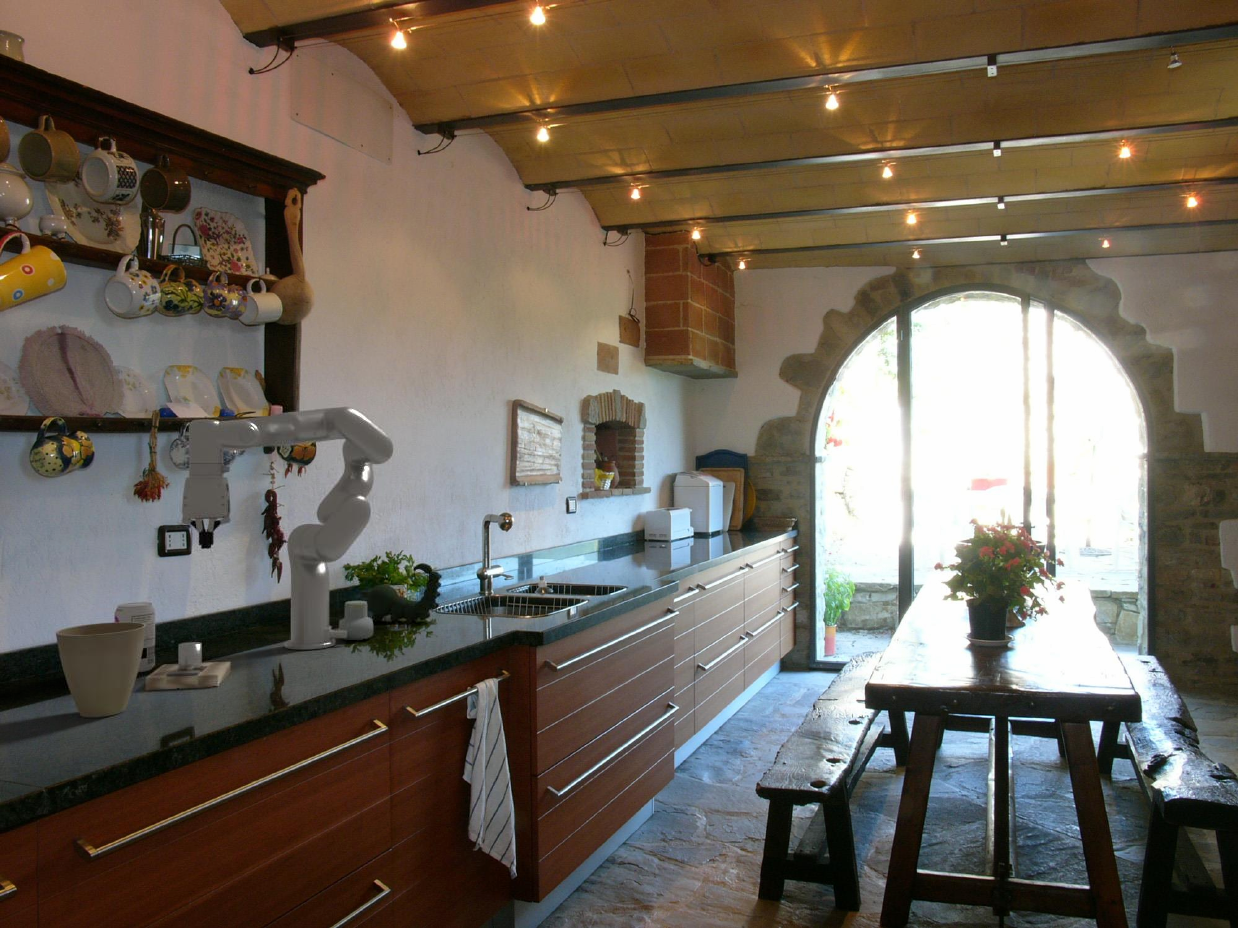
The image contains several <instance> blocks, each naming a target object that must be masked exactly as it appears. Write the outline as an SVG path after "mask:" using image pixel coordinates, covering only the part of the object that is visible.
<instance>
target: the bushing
mask: <svg viewBox="0 0 1238 928" xmlns="http://www.w3.org/2000/svg"><path fill="white" fill-rule="evenodd" d="M202 644H203V643H202V642H199V641H196V642H195V641H194V642H193V641H191V642H182V643H179V644H178V646H177V647H178V649H177V651H178V653H177V654H178V655H177V656H178V658H177V659H178V662H177V664H178V671H195V670H200V672H202V663H203V660H202V659H203V658H202V657H203V655H202V654H203V652H202V651H203V647H202Z"/></svg>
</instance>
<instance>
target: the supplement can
mask: <svg viewBox="0 0 1238 928" xmlns="http://www.w3.org/2000/svg"><path fill="white" fill-rule="evenodd" d="M114 622H137V623H144V624H146V631H145V638H144V645H143V650H142V656H141V660H140V664H139V668H138V672H137V674H138V673H143V672H149V671H151V670H153V668H154V667H155V666H156V609H155V608H154V606H153V603H152V602H144V601H143V602H142V601H141V602H128V603H121V604H118V605H117V607H116V609H115V611H114Z"/></svg>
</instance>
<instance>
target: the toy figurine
mask: <svg viewBox="0 0 1238 928" xmlns="http://www.w3.org/2000/svg"><path fill="white" fill-rule="evenodd" d="M417 570H418V571H419V570H421V571H422V572H424V573H425V574H427V575H428V577H427V578H428V580H427V581H426V583H425V587H426V588H425V589H424V591H423V596H422V597H421V598H420V599H419V600H417V601H416V600H409V599H408V598H407V597H405V596H401V595H400V594H399V593H398V591H397V590H396V589H395V588H394V587H393V586H390V585H387V584H378V585H376V586H374V587H373V588H372V589H371V590H359V591H358V594H359V595H361V596H362V597H363V598H364V599H365V600H366V602H367V609H368V611H369V612H371V613H372V616H371V619H372V621H374V622H376V621H380V622H382V621H383V620H384V617H387V616H390V617H389V618H390V621H392V622H393V623H396V622H398V621H399V620H403V619H404V621H405V623H406V624H411V623H412V622H415V621H418V619H419V620H421V621H424V620H426V619H429V618H430V617H431V613H430V611H431V610H437V609H438V608H439V607H440V604H439V603H438V602H437V598H439V597H440V596H441V592H440V591H438V590H439V588H441V586H442V583H441V582H440V579H442V574H440V573H439V572H438V571H435V570H433V568H432V566H431V565H430V564H427V563H422V562H421V563H419V564H416V565H415V566H414V567H413V569H412V571H413V572H416V571H417Z"/></svg>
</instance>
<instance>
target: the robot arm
mask: <svg viewBox="0 0 1238 928" xmlns="http://www.w3.org/2000/svg"><path fill="white" fill-rule="evenodd" d="M335 440H344V441H343V444H342V449H341V450H342V457H343V463H344V470H343V473H342V475H341V476H340V479H338V481H337V482H336V484H335V485H333V487H332V488H331V490H330V491H329V492H328V493H327V495H325V497H324V498H323V500H321V502H320V503H319V505H318V507H317V510H316V517H317V520H318V522H319V523H320V524H319V523H317V524H316V523H304V524H301V525H298V526H296V527H294V528H293V530H291V532H290V534H289V535H288V538H287V555H288V559H289V567H290V639H289V640H287V641H285V642H284V648H285V649H289V650H297V651H305V650H308V651H309V650H318V649H319V650H321V649H325V648H327V649H328V648H329V647H333V646H335V645H336V639H342V638H347V630H345V631H343V630H339V629H338V630H335V629H332V625H330V573H329V572H330V571H329V567H328V564H329V563H333V562H336V561H338V560H339V559H341V558H342V557H343V556H344V555H345V554H346V553H347V551H348V550H349V549H350V548H351V547H352V546H353V544H354V542H355V541H356V540H357V539H358V538H359V537H360V535H361V534H362V533H363V531H364V530H365V528H366V527H367V525H368V523H369V521H370V519H371V513H372V510H371V505H370V502H369V501H368V500H367V497H368V495H369V494H370V493H371V491H372V488H373V486H374V481H375V479H374V470H373V469H374V468H373V465H382V464H386V463H387V462H388V461H389V460H391V458H392V457H393V454H394V444H393V441H392V440H391V438H390V437H389V436H388V434H387V433H385V432H384V430H382V429H381V428H380V427H378V426H377V425H376V424H375V423H373V422H372V421H371V420H370V419H369V418H367V417H366V416H365V415H363V414H362V413H360V412H359V411H358V410H356V409H354V408H352V407H350V406H339V407H329V408H326V407H325V408H318V409H317V408H316V409H308V410H299V411H289V412H282V413H275V414H271V415H265V416H260V417H259V416H257V417H252V418H243V419H231V420H223V421H222V420H221V421H220V420H219V419H218V420H216V419H194V420H192V421H191V422H189V424H188V477H186V478H185V481H184V487H183V495H182V504H181V505H182V506H181V513H182V518H181V524H184V525H188V526H191V527H193V528H194V529H195V530H196V531H197V533H198V545H199V546H200V549H202V550H205V549H206V550H210V549H212V546H213V545H214V542H215V541H214V539H215V538H214V532H215V531H216V529H217V528H218V527H220V526H221V525H225V524H229V523H231V517H230V515H231V499H230V498H231V497H230V495H231V494H230V488H229V487H230V486H229V485H230V484H229V481H228V476H227V477H225V476H224V475H225V473H226V474H227V473H230V472H231V469H230V466H225V464H224V452H232V451H233V452H234V451H235V452H237V451H238V452H241V451H248V450H250V449H252V448H260V447H288V446H289V447H290V446H298V445H305V444H312V443H321V442H327V441H335ZM205 520H208V526H207V529H206V528H205V522H204V521H205Z"/></svg>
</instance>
